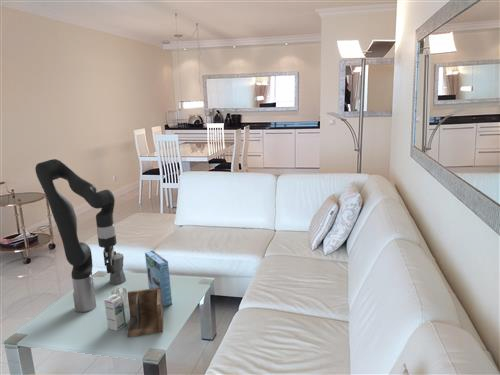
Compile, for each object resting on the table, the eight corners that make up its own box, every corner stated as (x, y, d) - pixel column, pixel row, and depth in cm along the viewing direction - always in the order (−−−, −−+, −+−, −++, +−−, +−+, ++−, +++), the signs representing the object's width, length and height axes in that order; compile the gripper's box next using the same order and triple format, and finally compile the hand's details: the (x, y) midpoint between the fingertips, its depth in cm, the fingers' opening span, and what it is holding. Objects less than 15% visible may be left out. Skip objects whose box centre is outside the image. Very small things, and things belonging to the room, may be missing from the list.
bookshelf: (127, 337, 171) (124, 308, 168) (130, 317, 187) (127, 291, 184) (162, 332, 174) (160, 304, 171) (163, 313, 190) (160, 287, 187)
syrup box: (116, 331, 176) (113, 301, 173) (107, 328, 179) (103, 298, 176) (126, 325, 181) (123, 296, 178) (117, 321, 184) (113, 293, 180)
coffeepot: (113, 276, 232) (110, 247, 228) (129, 275, 232) (126, 246, 228) (104, 288, 217) (100, 258, 213) (121, 288, 217) (118, 257, 213)
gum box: (172, 304, 198) (168, 261, 193) (162, 307, 195) (158, 264, 190) (157, 289, 214) (153, 250, 209) (148, 292, 211) (144, 252, 206)
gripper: (99, 230, 182) (104, 263, 185) (95, 241, 168) (100, 276, 172) (117, 229, 183) (120, 261, 187) (113, 239, 170) (118, 274, 173)
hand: (110, 268), depth 179 cm, fingers open, 8 cm apart
